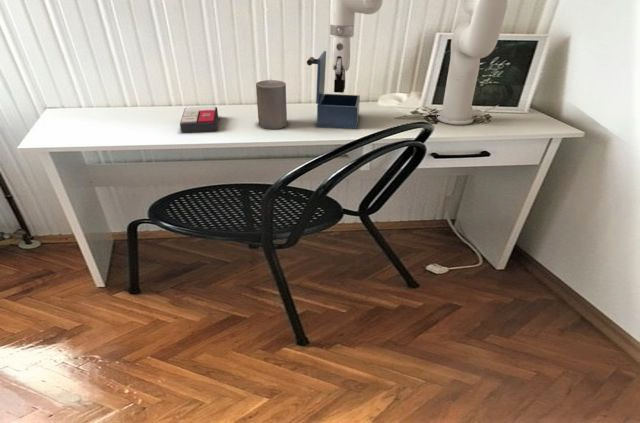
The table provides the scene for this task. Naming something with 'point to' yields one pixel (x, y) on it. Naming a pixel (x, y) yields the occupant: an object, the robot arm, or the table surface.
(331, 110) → the case
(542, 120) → the table surface
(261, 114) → the pillar candle
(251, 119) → the table surface
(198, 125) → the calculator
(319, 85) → the lid
